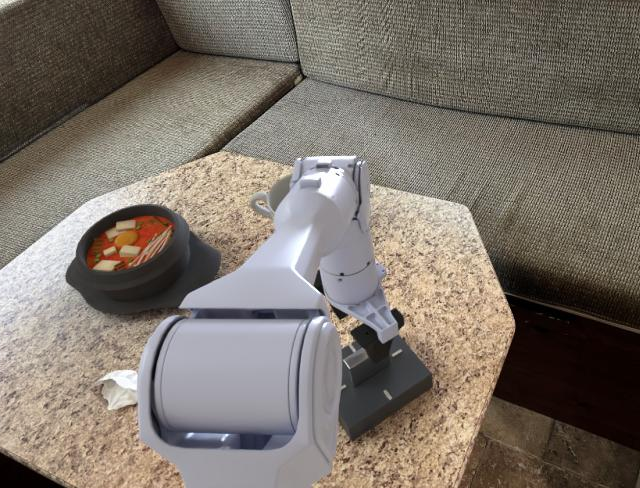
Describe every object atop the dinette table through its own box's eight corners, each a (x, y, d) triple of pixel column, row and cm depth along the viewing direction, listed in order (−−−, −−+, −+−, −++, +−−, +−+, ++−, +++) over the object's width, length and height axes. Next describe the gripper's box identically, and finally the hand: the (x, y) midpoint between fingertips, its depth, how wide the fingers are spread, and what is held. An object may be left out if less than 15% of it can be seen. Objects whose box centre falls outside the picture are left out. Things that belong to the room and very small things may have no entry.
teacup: (350, 211, 103) (343, 174, 98) (327, 257, 95) (318, 220, 90) (275, 201, 106) (265, 165, 101) (247, 244, 99) (235, 208, 93)
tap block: (352, 441, 72) (348, 428, 70) (312, 381, 78) (308, 368, 76) (433, 386, 76) (432, 372, 74) (389, 334, 83) (387, 320, 81)
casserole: (245, 245, 98) (232, 207, 93) (181, 338, 85) (162, 300, 80) (119, 222, 106) (100, 185, 100) (42, 304, 92) (15, 267, 87)
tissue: (115, 365, 83) (104, 349, 80) (159, 385, 80) (149, 369, 77) (83, 399, 79) (71, 383, 77) (129, 422, 76) (117, 406, 74)
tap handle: (353, 387, 74) (349, 367, 71) (347, 378, 75) (342, 358, 72) (391, 363, 76) (388, 343, 73) (384, 354, 77) (380, 334, 74)
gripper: (419, 278, 59) (426, 359, 67) (344, 201, 68) (359, 281, 77) (357, 315, 56) (373, 394, 65) (288, 229, 65) (310, 308, 74)
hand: (362, 335), depth 71 cm, fingers open, 7 cm apart
